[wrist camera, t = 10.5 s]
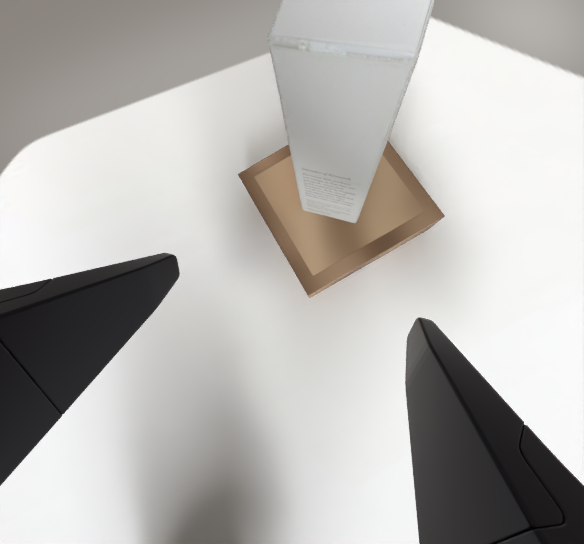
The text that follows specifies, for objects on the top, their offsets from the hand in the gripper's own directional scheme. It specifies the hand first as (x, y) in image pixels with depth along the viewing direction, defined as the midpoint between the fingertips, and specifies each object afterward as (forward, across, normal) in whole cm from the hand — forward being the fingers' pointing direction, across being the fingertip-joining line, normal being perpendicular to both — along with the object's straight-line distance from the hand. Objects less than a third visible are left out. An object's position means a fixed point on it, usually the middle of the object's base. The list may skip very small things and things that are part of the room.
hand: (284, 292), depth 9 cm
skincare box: (+13, 0, -1) cm, 13 cm away
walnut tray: (+14, 0, +2) cm, 14 cm away
